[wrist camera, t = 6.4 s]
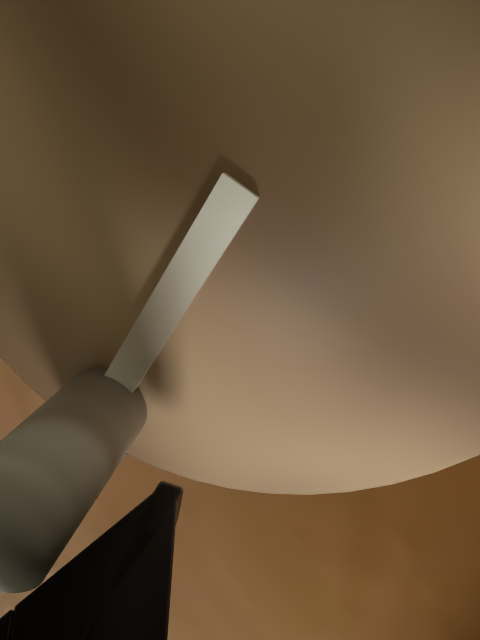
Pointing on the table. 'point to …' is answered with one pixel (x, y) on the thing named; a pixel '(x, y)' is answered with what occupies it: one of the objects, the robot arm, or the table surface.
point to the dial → (235, 248)
